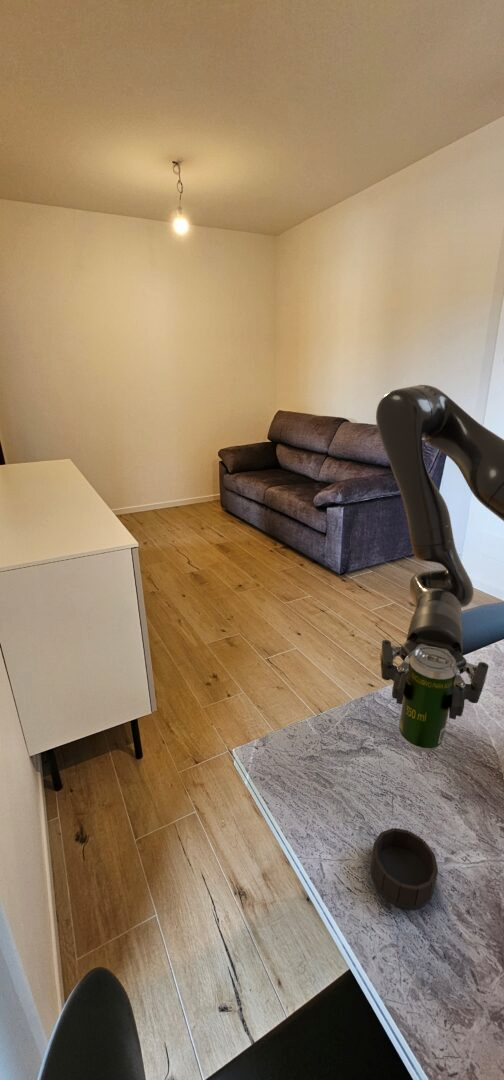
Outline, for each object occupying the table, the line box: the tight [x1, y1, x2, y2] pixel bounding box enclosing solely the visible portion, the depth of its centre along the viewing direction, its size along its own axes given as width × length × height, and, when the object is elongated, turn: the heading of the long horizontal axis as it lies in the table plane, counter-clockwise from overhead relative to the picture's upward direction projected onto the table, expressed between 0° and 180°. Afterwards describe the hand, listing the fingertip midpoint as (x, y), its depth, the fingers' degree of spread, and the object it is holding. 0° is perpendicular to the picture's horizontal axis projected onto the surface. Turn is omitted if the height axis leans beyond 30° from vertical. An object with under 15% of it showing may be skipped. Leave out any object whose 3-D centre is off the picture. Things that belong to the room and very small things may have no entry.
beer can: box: [398, 646, 457, 752], centre depth 56 cm, size 5×5×12 cm
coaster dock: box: [370, 827, 439, 911], centre depth 52 cm, size 7×7×3 cm
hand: (426, 705), depth 53 cm, fingers closed on beer can, 5 cm apart
